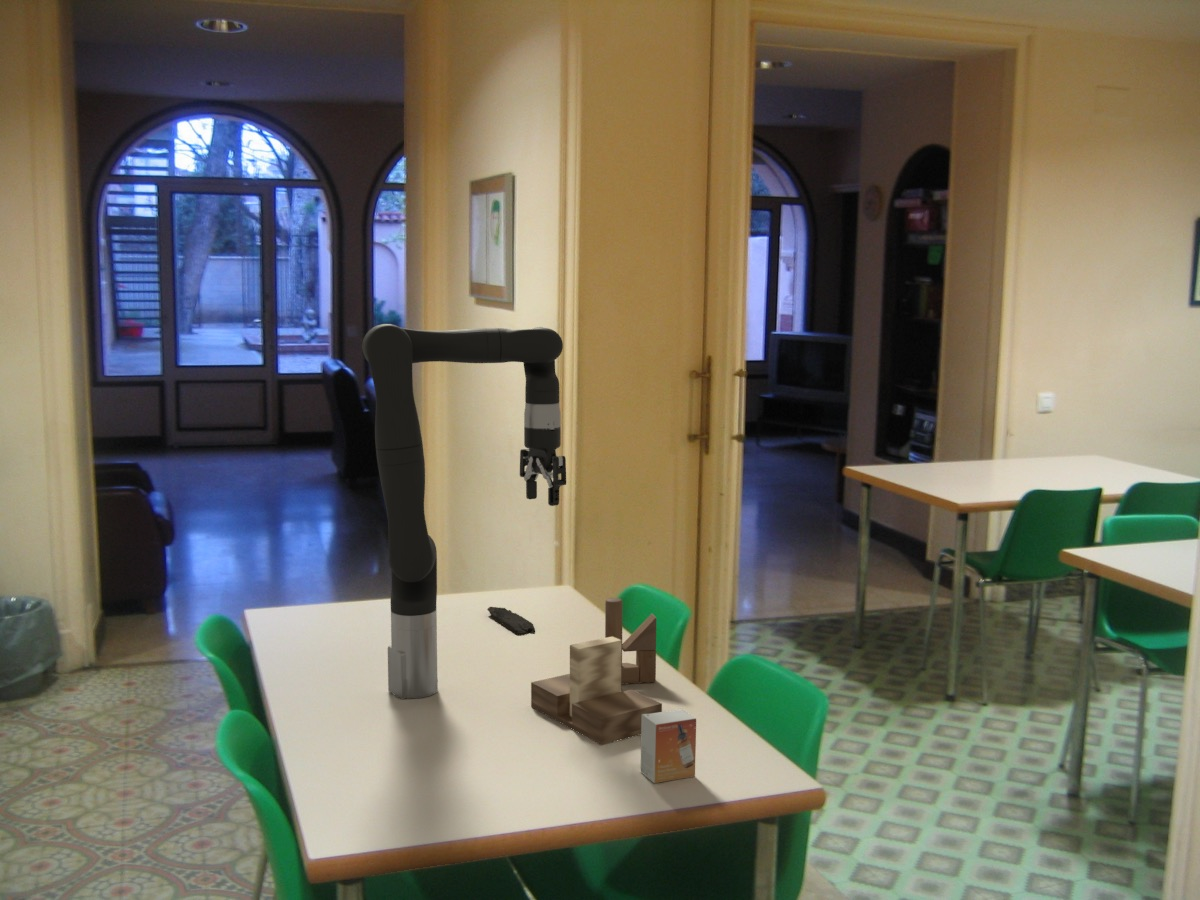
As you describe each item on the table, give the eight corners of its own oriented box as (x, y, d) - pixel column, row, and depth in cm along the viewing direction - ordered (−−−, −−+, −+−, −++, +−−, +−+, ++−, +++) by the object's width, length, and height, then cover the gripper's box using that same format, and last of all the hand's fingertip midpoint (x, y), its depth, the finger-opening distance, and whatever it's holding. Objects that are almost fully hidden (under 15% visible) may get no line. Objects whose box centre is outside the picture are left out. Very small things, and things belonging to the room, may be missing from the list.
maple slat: (578, 720, 225) (578, 649, 223) (569, 715, 228) (569, 645, 226) (620, 709, 231) (621, 640, 229) (611, 705, 233) (612, 636, 231)
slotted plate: (601, 745, 216) (601, 718, 215) (531, 706, 235) (531, 682, 234) (661, 728, 224) (661, 703, 223) (589, 692, 243) (589, 669, 242)
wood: (545, 634, 285) (546, 621, 285) (517, 637, 282) (517, 625, 281) (509, 611, 305) (509, 600, 304) (482, 614, 301) (482, 603, 301)
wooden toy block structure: (656, 682, 250) (657, 599, 247) (606, 686, 247) (606, 602, 245) (651, 677, 253) (652, 595, 251) (602, 680, 251) (603, 597, 248)
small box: (654, 784, 199) (654, 724, 198) (639, 772, 204) (640, 713, 203) (696, 777, 202) (697, 718, 201) (681, 764, 207) (682, 707, 206)
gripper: (509, 422, 248) (509, 498, 250) (545, 429, 236) (545, 509, 239) (539, 420, 252) (539, 495, 255) (576, 427, 241) (576, 505, 243)
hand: (542, 502), depth 247 cm, fingers open, 8 cm apart
